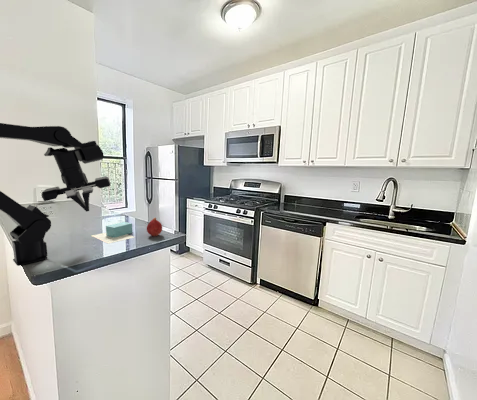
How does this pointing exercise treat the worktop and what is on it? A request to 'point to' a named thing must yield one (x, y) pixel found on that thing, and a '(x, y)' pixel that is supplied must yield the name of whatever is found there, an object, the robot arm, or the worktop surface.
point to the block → (119, 229)
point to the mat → (111, 238)
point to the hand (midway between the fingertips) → (87, 211)
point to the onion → (154, 227)
